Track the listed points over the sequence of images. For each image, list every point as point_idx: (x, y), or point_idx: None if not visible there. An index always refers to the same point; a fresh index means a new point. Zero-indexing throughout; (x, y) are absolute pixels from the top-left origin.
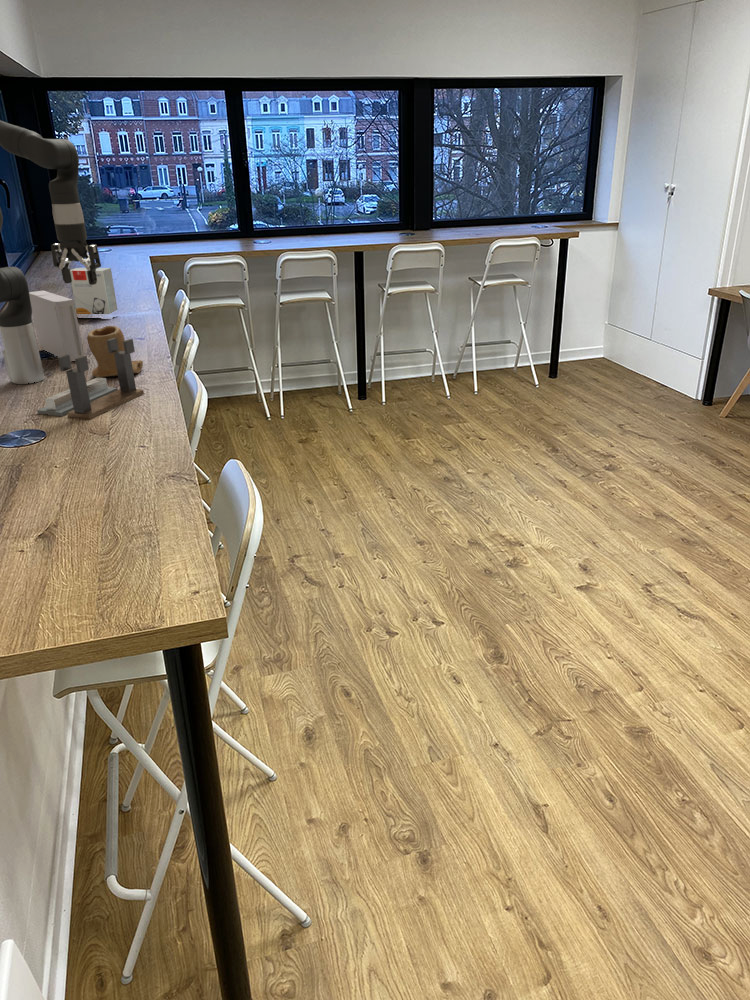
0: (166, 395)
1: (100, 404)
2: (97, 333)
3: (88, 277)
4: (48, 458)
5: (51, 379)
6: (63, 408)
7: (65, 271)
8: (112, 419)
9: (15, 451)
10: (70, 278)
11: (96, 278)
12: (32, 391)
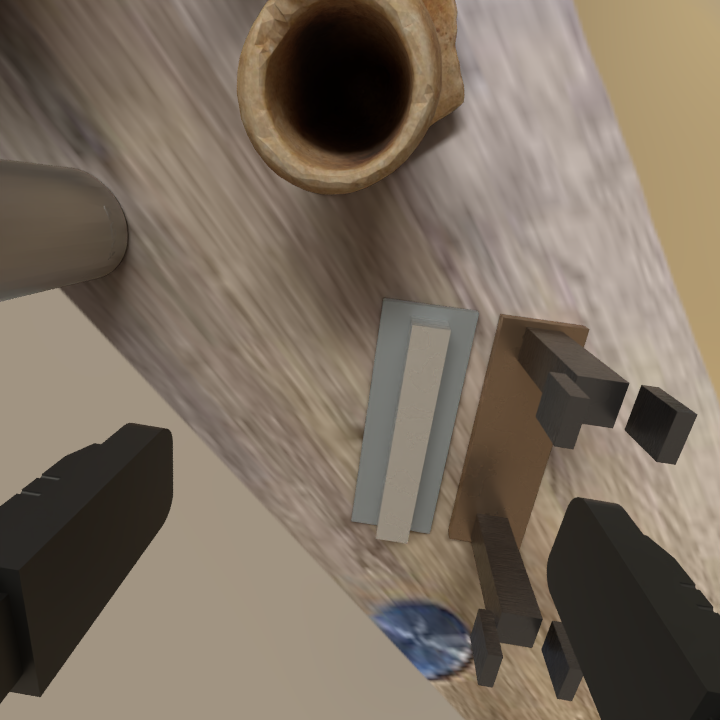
0: (673, 333)
1: (509, 475)
2: (274, 66)
3: (593, 675)
4: (541, 716)
5: (146, 200)
6: (415, 505)
7: (61, 640)
8: None
9: (454, 693)
10: (139, 467)
11: (689, 588)
12: (190, 342)
